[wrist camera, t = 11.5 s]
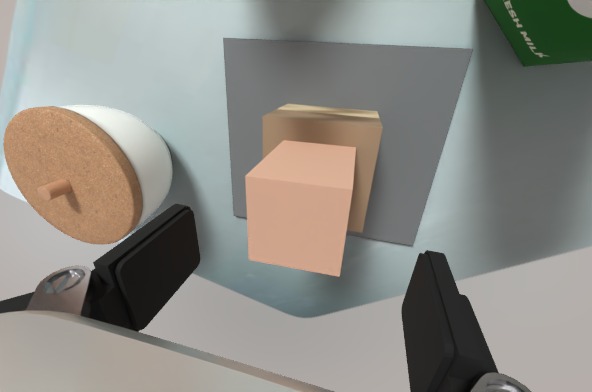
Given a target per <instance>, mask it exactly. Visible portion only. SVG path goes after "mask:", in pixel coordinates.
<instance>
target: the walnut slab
mask: <svg viewBox="0 0 592 392" xmlns="http://www.w3.org/2000/svg"><path fill="white" fill-rule="evenodd" d="M382 129H383V127H382V124H381V121H380V118H371V117H360V116H349V115H338V114H327V113H316V112H304V111H293V110H282V109H276V110H274V111H272V112H270V113H268V114H266V115H264V116H263V159H264V158H265V157H266V156H267V155H268V154H269V153H270V152H272V151H273V150H274V149H275V148H276V147H277V146H278V145H279V144H280V143H281V142H282V141H283V140H287V141H297V142H307V143H317V144H327V145H337V146H347V147H356V155H355V167H354V180H353V191H352V198H351V205H350V211H349V218H348V225H347V230H349V231H355V232H361V233H362V231H363V226H364V221H365V216H366V211H367V206H368V200H369V195H370V190H371V185H372V180H373V175H374V170H375V165H376V160H377V155H378V149H379V144H380V139H381V134H382Z"/></svg>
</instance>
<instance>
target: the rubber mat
mask: <svg viewBox="0 0 592 392" xmlns="http://www.w3.org/2000/svg"><path fill="white" fill-rule="evenodd" d="M223 42H224V59H225V76H226V93H227V110H228V126H229V143H230V160H231V177H232V194H233V211H234V216H239V217H245V218H247V205H246V183H245V176H246V175H247V174H248V173H249V172H250V171H251V170H252V169H253V168H254V167H255V166H256V165H258V164H259V163H260V162H261V161H262V160H263V116H264V115H266V114H268V113H270V112H272V111H274V110H276V109H278V108H280V107H282V106H284V105H286V104H297V105H308V106H320V107H331V108H343V109H354V110H366V111H377V112H378V115H379V118H380V121H381V124H382V127H383V129H382V134H381V139H380V144H379V149H378V155H377V160H376V165H375V170H374V175H373V180H372V185H371V190H370V195H369V200H368V206H367V211H366V216H365V221H364V226H363V231H362V233H361V232H355V231H349V230H347V231H346V234H347V235H352V236H358V237H364V238H370V239H376V240H382V241H388V242H394V243H400V244H406V245H412V246H413V244H414V241H415V237H416V234H417V231H418V227H419V224H420V221H421V218H422V214H423V211H424V208H425V205H426V201H427V198H428V195H429V191H430V188H431V185H432V182H433V178H434V175H435V172H436V169H437V165H438V162H439V159H440V155H441V152H442V149H443V146H444V142H445V139H446V136H447V133H448V129H449V126H450V123H451V119H452V116H453V113H454V110H455V106H456V103H457V100H458V97H459V93H460V90H461V87H462V83H463V80H464V77H465V74H466V70H467V67H468V64H469V61H470V57H471V54H472V51H473V49H463V48H440V47H418V46H395V45H372V44H350V43H327V42H305V41H282V40H259V39H237V38H223Z"/></svg>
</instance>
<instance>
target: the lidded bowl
mask: <svg viewBox="0 0 592 392" xmlns="http://www.w3.org/2000/svg"><path fill="white" fill-rule="evenodd" d="M4 152H5V158H6V162H7V165H8V168H9V170H10V173H11V175H12V178H13V180H14V181H15V183H16V185H17V187H18V188H19V190H20V191H21V193H22V194H23V196H24V197H25V199H26V200H27V201H28V202H29V204H30V205H31V206H32V207H33V208H34V209H35V210H36V211H37V212H38V213H39V215H41V216H42V217H43V218H44V219H45V220H46V221H47V222H49V223H50V224H51V225H53V226H54V227H55V228H57V229H58V230H60V231H61V232H63V233H65V234H67V235H69V236H71V237H72V238H75V239H77V240H80V241H83V242H87V243H91V244H110V243H114V242H117V241H119V240H121V239H123V238H124V237H125V236H127V235H128V234H129V233H130V232H132V231H133V230H134V229H135V228H136V227H137V226H138V225H140V224H141V223H142V222H143V221H145V220H146V219H147V218H148V217H149V216H150V215H152V214H153V213H154V212H155V211H156V210H157V209H158V207H159V206H160V205H161V204H162V202H163V201H164V199H165V198H166V196H167V194H168V192H169V189H170V187H171V182H172V177H173V169H172V159H171V154H170V151H169V148H168V146H167V144H166V143H165V141H164V140H163V138H162V137H161V136H160V135H159V134H158V133H157V132H156V131H155V130H153V129H152V128H151V127H150V126H149V125H148V124H146V123H145V122H144V121H142V120H141V119H139V118H137V117H135V116H133V115H131V114H129V113H127V112H124V111H121V110H118V109H115V108H111V107H104V106H96V105H71V106H59V107H54V106H50V107H36V108H30V109H26V110H23V111H21V112H20V113H18V114H17V115H15V116H14V118H13V119H12V120H11V121H10V122H9V124H8V126H7V128H6V131H5V135H4Z"/></svg>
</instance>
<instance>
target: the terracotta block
mask: <svg viewBox="0 0 592 392" xmlns="http://www.w3.org/2000/svg"><path fill="white" fill-rule="evenodd" d="M355 155H356V147H347V146H337V145H327V144H317V143H307V142H297V141H287V140H283V141H282V142H281V143H280V144H279V145H278V146H277V147H276V148H275V149H274V150H273V151H272V152H270V153H269V154H268V155H267V156H266V157H265V158H264V159H263V160H262V161H261V162H260V163H259V164H258V165H256V166H255V167H254V168H253V169H252V170H251V171H250V172H249V173H248V174H247V175H246V176H245V183H246V205H247V227H248V249H249V260H253V261H258V262H263V263H269V264H274V265H279V266H285V267H290V268H295V269H301V270H306V271H311V272H317V273H322V274H327V275H333V276H338V277H340V271H341V264H342V258H343V251H344V245H345V238H346V231H347V225H348V218H349V211H350V205H351V198H352V191H353V180H354V167H355Z"/></svg>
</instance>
